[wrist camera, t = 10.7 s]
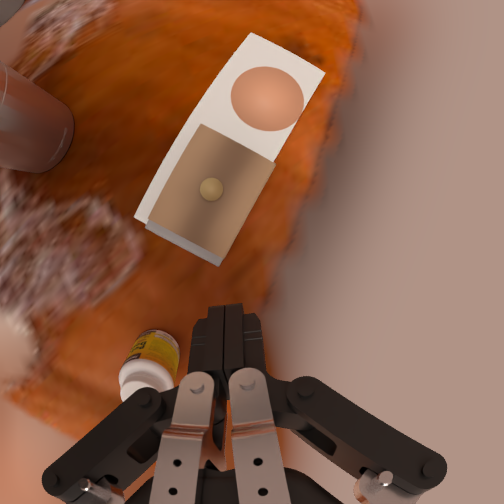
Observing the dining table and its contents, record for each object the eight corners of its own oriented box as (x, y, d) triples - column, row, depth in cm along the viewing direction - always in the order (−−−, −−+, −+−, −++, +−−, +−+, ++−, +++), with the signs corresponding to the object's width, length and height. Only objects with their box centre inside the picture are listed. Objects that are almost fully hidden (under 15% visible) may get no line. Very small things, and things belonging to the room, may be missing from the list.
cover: (153, 217, 28) (145, 218, 24) (201, 131, 28) (200, 120, 24) (222, 254, 30) (224, 261, 26) (270, 168, 29) (278, 162, 25)
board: (137, 216, 30) (127, 218, 26) (249, 38, 28) (253, 21, 24) (217, 259, 31) (218, 266, 28) (321, 77, 30) (333, 64, 26)
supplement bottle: (151, 318, 31) (129, 362, 21) (189, 346, 33) (183, 397, 22) (127, 350, 32) (102, 397, 22) (164, 376, 33) (151, 429, 23)
